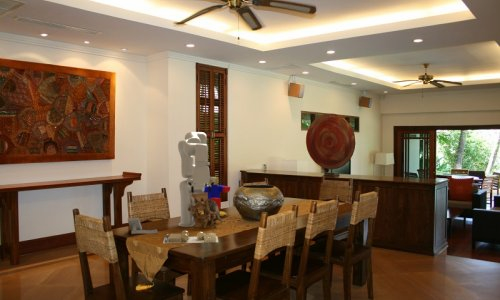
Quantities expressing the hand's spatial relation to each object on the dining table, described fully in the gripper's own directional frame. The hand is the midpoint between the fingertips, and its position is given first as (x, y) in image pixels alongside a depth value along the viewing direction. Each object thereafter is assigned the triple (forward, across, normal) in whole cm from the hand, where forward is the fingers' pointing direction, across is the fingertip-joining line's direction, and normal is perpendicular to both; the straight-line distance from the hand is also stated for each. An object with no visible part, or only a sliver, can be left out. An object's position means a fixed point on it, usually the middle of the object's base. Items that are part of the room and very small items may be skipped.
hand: (201, 193), depth 251 cm
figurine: (+28, -8, -87) cm, 91 cm away
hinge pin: (+28, +20, -1) cm, 35 cm away
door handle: (+29, +38, -24) cm, 53 cm away
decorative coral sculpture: (+28, -2, -44) cm, 52 cm away
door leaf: (+28, -4, -1) cm, 28 cm away
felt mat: (+28, +6, -1) cm, 29 cm away
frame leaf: (+28, +14, -1) cm, 31 cm away
